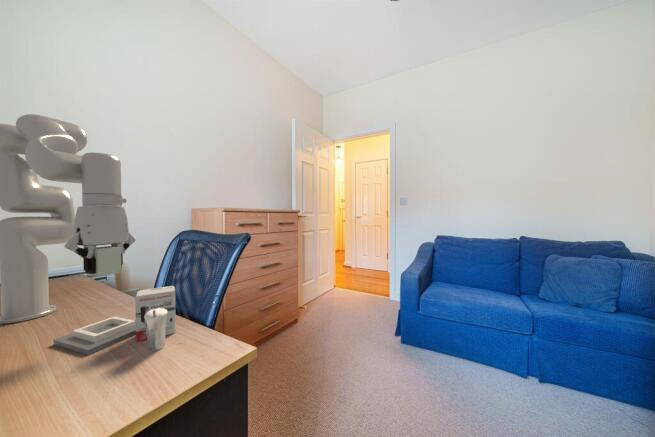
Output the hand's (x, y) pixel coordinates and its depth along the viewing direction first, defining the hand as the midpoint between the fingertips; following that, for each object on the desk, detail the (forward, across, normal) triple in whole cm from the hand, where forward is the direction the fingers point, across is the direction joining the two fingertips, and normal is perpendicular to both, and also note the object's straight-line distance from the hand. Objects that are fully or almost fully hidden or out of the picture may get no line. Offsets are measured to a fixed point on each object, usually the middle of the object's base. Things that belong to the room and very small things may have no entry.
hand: (104, 270), depth 63 cm
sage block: (+1, 0, 0) cm, 1 cm away
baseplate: (+17, 0, 0) cm, 17 cm away
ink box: (+18, -5, +12) cm, 22 cm away
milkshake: (+18, 0, +19) cm, 26 cm away
